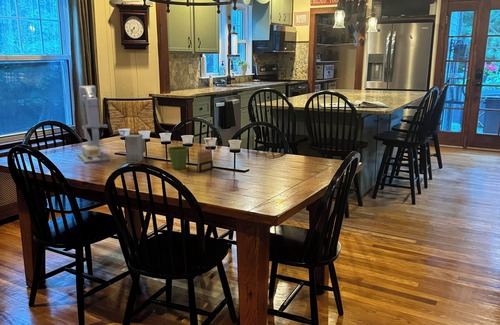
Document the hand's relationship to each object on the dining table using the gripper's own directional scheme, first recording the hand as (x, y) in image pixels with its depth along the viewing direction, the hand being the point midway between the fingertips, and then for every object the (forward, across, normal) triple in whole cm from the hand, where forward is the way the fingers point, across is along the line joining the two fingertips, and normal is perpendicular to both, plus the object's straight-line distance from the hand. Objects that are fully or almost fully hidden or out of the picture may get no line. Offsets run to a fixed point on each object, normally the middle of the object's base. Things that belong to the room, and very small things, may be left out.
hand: (96, 140), depth 279 cm
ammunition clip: (+12, +43, -66) cm, 80 cm away
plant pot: (+12, +33, -53) cm, 64 cm away
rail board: (+10, -3, -2) cm, 11 cm away
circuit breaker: (+11, +19, -19) cm, 29 cm away
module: (+9, -3, -3) cm, 10 cm away
